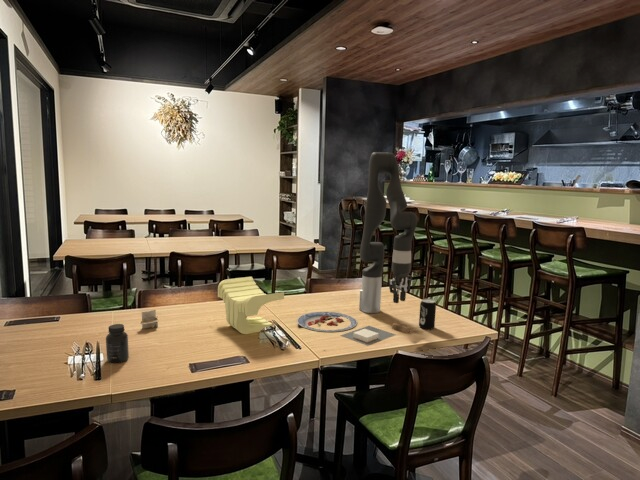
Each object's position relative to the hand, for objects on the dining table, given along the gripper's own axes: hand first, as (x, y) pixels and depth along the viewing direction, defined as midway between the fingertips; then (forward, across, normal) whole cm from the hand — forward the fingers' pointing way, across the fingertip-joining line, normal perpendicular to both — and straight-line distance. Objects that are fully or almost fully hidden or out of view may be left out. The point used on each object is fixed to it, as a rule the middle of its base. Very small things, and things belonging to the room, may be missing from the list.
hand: (399, 301), depth 186 cm
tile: (+11, -18, +5) cm, 22 cm away
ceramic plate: (+14, -16, +26) cm, 33 cm away
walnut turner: (+13, 0, +1) cm, 13 cm away
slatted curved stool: (+13, -43, +44) cm, 63 cm away
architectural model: (+14, -74, +70) cm, 103 cm away
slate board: (+13, -15, +4) cm, 20 cm away
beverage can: (+13, +15, -4) cm, 21 cm away
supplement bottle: (+13, -96, +46) cm, 108 cm away
